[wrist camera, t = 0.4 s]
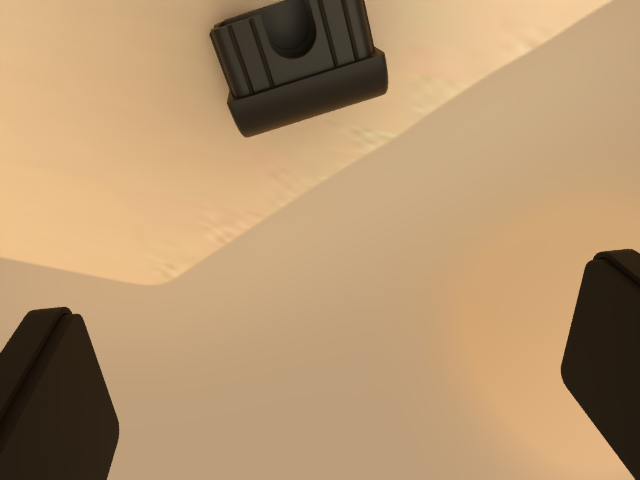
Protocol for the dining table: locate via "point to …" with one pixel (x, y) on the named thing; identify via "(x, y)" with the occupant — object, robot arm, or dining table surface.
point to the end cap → (297, 62)
